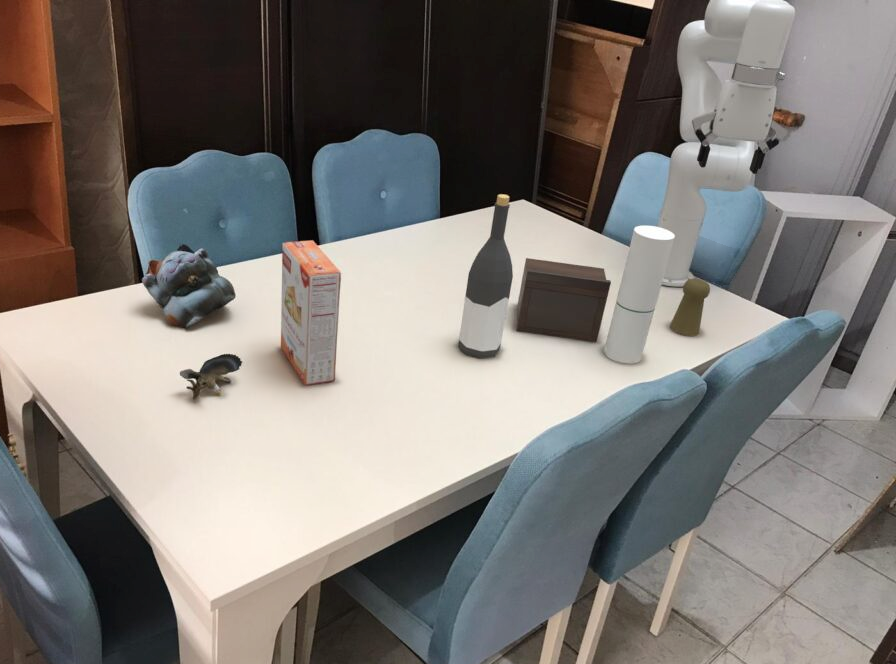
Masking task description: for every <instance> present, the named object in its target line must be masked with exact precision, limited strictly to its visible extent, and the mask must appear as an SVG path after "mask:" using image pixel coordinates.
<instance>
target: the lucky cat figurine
mask: <svg viewBox="0 0 896 664" xmlns="http://www.w3.org/2000/svg"><path fill="white" fill-rule="evenodd" d="M147 264H148V267H147V271H146V273H145V275H144V276H143V277H142V278H141V282H142V285H143V286H144V288H145V289H146V291H147V292H148V294H149V295H150V296H151V298H153V300H154V301H155V303H156V304H157V305H158V306H159V307H160V309H161V310H162V312H163V313H164V315H165V318H166V320H167V321H168V322H169V324H170V325H172V326H175V327H179V328H184V329H185V328H187V327H189V326H191V325H194V324H196V323H198V322H199V321H201V320H202V319H204V318H205V317H207V316H209V315H210V314H212V313H214V312H217V311H218V310H221V309H222V308H224V307H225V306H227V305H228V304H229V303H231V302H232V301H234V300H235V299H236V296H237V295H236V291H235V289H234V286H233V284H232V283H231V281H230V280H228V279H227V278H226V277H225V276H221V275H220V273H219V271H218V267H217V266H216V265H215V263H214V261H212V259H210V257H209V254H208V251H207V250H206V249H205V248H199V249H198V250H197V251H194V250H192V249H191V248H190V246H188V245H186V244H184V243H183V244H182V243H181V244H180V245H179V246H178V248H177V249H176V250H175V251H172V252H170V253H169V254H167V255H166V256H164V257H163V258H162V260H159V259H158V260H156V259H150V260H148V263H147Z"/></svg>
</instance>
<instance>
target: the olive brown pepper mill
mask: <svg viewBox="0 0 896 664" xmlns="http://www.w3.org/2000/svg"><path fill="white" fill-rule="evenodd" d="M682 292H683V295H682V298H681V301H680V302H679V304H678V306H677V309H676V311H675V313H674V316H673V318H672V320H671V322H670V325H669V329H670V330H671V331H672V332H674V333H675V334H677V335H680V336H684V337H696V336H698V335H699V334H700V330H701V323H702V316H703V310H704V304H705V299H706V298H708V297H709V295H710V292H711V286H710V284H709V283H708V282H707V281H706V280H704V279H700V278H694V279H689V280H687V281H686V282H685V284H684V286H682Z"/></svg>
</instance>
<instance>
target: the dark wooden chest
mask: <svg viewBox="0 0 896 664" xmlns="http://www.w3.org/2000/svg"><path fill="white" fill-rule="evenodd" d="M605 271H606V270H605V268H602V267H594V266H587V265H581V264H574V263H566V262H558V261H552V260H544V259H536V258H528V257H526V258H525V262H524V266H523V272H522V278H521V284H520V288H519V295H518V300H517V304H516V329H515V331H517V332H522V333H529V334H530V333H531V334H537V335H543V336H551V337H558V338H563V339H570V340H577V341H585V342H591V343H597V342H598V340H599V339H598V338H599V335H600V331H601V326H602V323H603V321H602V320H603V317H604V313H605V309H606V306H607V301H608V297H609V292H610V288H611V285H612V280H610V279H607V276H606V272H605Z"/></svg>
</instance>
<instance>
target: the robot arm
mask: <svg viewBox="0 0 896 664" xmlns="http://www.w3.org/2000/svg"><path fill="white" fill-rule="evenodd" d="M706 6H707V7H706V9H705V14H704V19H702V20H695V21H691V22H689V23H688V24H686V25H685V26H684V27H683V29H682V30H681V32H680V35H679V38H678V43H677V51H676V52H677V53H676V62H677V63H676V65H677V70H678V75H679V77H680V83H681V87H682V89H681V91H682V92H681V93H682V94H681V103H680V104H681V105H680V115H679V134H680V137H681V139H682V140H683V141H684V142H683V143H680V144H679V145H677V146H676V147H675V148H674V150H673V151H672V153H671V156H670V159H669V167H668V177H667V178H668V179H667V183H666V190H665V195H664V199H663V203H662V207H661V210H660V214H659V219H658V223H657V226H656V227H660V228H663V229H666V230H668V231H670V232H672V233H673V234H674V235H675V237H674V241H673V245H672V248H671V252H670V256H669V259H668V263H667V267H666V270H665V274H664V277H663V281H662V285H661V286H668V287H674V288H675V287H677V288H679V287H681V288H682V287H683V286H684V284H685V282H686V281H687V280H689V279H695V276H694V274H693V273H692V272H691V271H690V269H691V265H692V260H693V258H694V254H695V251H696V247H697V244H698V241H699V237H700V233H701V231H702V227H703V224H704V220H705V216H706V213H707V204H706V202H705V199H704V197H703V196H702V194H701V192H700V190H714V191H722V192H732V193H733V192H734V193H735V192H736V193H737V192H741V191H743V190H745V189H746V188H747V187H748V185H749V184H750V182H751V179H752V177H753V175H757V174H758V171H759V170H761V169H762V166H763V163H764V160H765V156H766V155H767V154H768V153H769V152H770V151H771V150H772V149H773V148H775V147H777V146H779V144H780V142H782V140H783V139H784V138H785V137H786V136H787V134H788V130H787V129H786V128H784V127H783V126H782V125H780V124H779V123H778V122H776V121H775V120H774V119H773V117H774V111H775V106H776V100H777V90H778V88H777V86H776V84H777V82H778V81H784V80H785V78H786V72H782V71H781V70H780V67H781V63H782V60H783V57H784V53H785V50H786V46H787V43H788V40H789V37H790V33H791V30H792V26H793V24H794V20H795V16H796V9H795V7H794V6H793V5H791V4H790V3H789V2H788V1H786V0H709V2H708V4H707V5H706ZM708 62H711V63H719V64H727V65H734V66H733V70H732V74H731V77H730V79H726V80H725V81H724V83H722V82H721V79H720V77H719V75H718V74H717V73H716V71H715V70H714V69H713V68H712V67H711V66H710V65H709V63H708ZM770 129H771V130H772V131H774V132H775V134H774V136H773V137H771V138H770V139H768V140H767V141H766V139H767V137H768V135H769V132H770ZM755 146H757V148H756V149H755Z"/></svg>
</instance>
